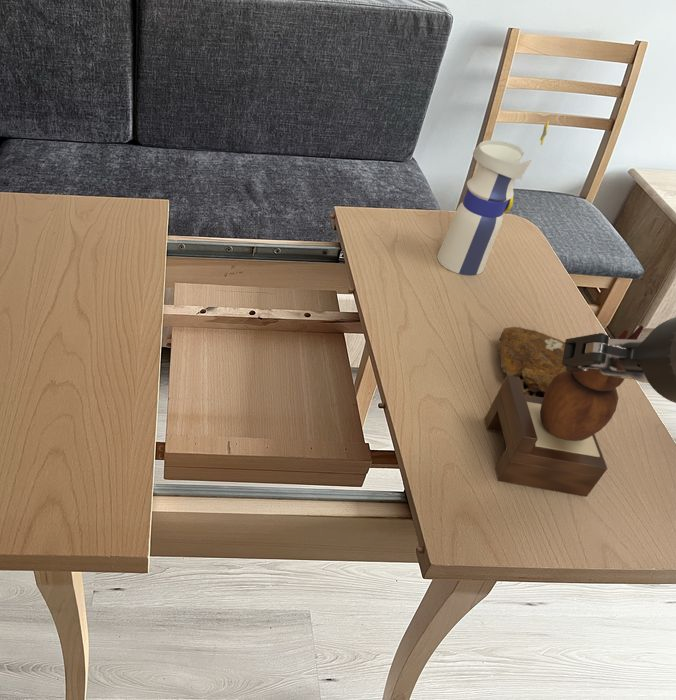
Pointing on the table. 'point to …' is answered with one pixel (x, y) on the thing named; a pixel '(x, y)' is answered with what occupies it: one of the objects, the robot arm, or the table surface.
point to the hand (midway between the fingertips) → (613, 369)
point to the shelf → (540, 446)
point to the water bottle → (483, 206)
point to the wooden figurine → (581, 401)
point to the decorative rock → (531, 358)
